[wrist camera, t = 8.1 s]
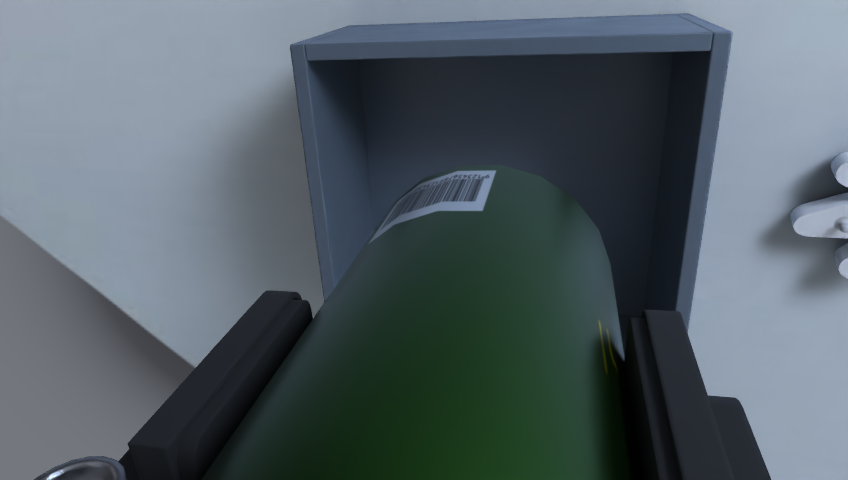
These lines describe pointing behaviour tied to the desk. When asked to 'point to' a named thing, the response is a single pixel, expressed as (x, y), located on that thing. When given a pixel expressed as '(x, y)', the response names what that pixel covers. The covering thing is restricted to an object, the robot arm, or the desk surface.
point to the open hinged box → (523, 130)
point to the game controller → (827, 215)
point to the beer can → (455, 350)
